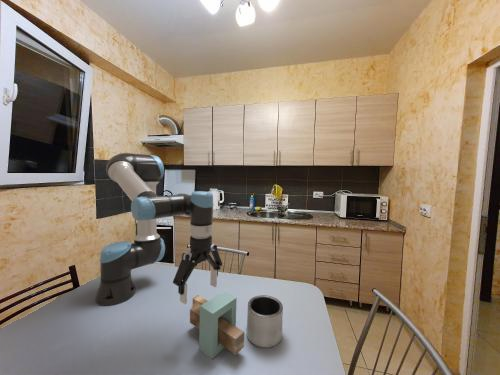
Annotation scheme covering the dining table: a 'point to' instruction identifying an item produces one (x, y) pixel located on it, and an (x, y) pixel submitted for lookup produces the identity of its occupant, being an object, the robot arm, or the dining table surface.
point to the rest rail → (198, 300)
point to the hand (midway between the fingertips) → (199, 293)
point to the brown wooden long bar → (222, 331)
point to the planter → (264, 321)
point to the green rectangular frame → (215, 321)
